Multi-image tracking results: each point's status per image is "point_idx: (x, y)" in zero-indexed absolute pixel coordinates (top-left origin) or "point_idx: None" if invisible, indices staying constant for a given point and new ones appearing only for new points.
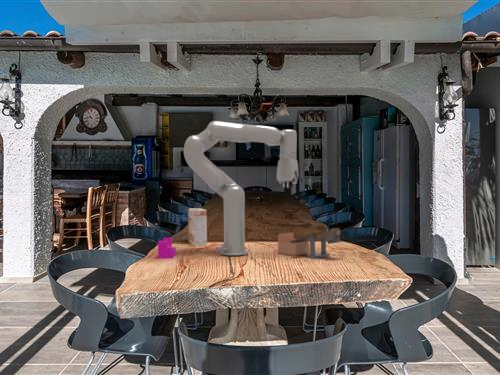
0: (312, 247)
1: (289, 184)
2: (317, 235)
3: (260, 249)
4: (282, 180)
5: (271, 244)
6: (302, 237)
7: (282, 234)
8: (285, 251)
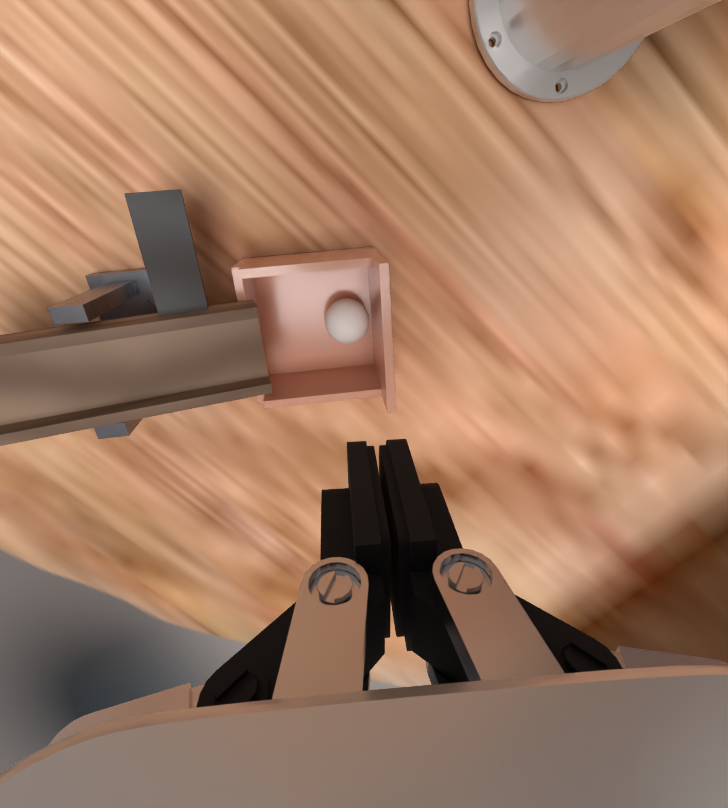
0: (97, 290)
1: (292, 660)
2: (35, 334)
3: (567, 291)
4: (505, 685)
5: (633, 455)
6: (186, 314)
7: (380, 302)
8: (314, 253)
